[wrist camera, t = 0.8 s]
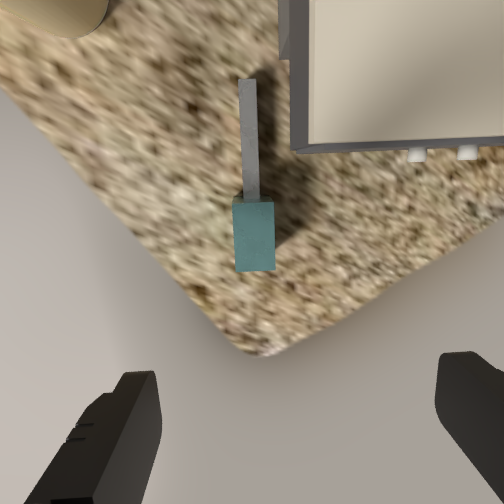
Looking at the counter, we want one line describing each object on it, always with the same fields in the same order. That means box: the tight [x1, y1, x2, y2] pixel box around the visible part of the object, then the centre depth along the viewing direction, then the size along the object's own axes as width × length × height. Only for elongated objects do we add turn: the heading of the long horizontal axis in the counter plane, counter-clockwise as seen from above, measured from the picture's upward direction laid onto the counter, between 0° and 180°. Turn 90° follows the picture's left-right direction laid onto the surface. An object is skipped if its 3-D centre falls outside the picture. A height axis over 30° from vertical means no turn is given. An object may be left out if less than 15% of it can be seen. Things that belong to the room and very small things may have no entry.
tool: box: [232, 79, 275, 272], centre depth 29 cm, size 16×4×6 cm, turn 2°
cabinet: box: [278, 0, 504, 162], centre depth 21 cm, size 15×17×17 cm
